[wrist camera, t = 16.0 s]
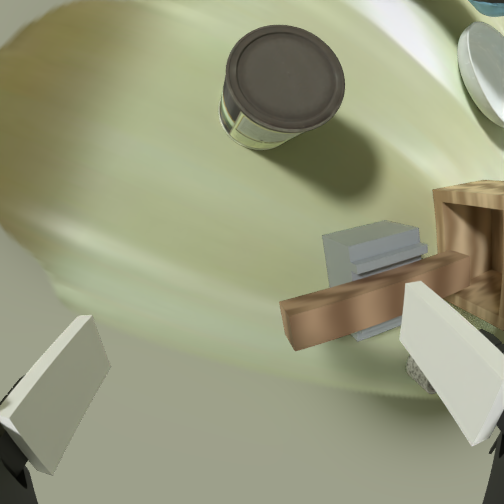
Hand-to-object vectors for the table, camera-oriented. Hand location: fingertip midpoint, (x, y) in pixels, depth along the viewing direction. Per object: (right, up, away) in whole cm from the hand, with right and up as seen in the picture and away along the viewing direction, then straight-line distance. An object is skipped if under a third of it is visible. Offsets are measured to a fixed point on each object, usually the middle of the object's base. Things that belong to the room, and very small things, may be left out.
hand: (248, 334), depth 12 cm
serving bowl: (+43, +36, +28) cm, 63 cm away
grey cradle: (+15, +1, +31) cm, 34 cm away
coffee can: (+1, +21, +25) cm, 32 cm away
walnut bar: (+15, -1, +23) cm, 27 cm away
